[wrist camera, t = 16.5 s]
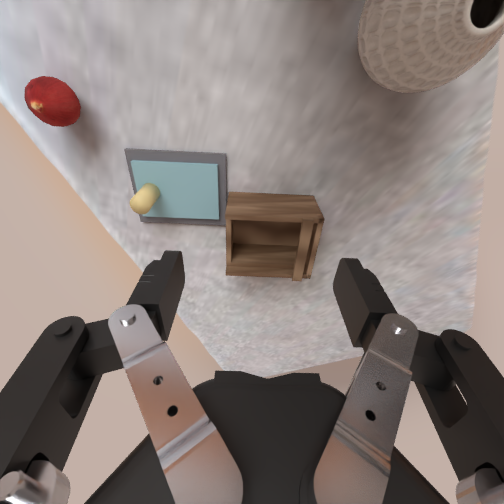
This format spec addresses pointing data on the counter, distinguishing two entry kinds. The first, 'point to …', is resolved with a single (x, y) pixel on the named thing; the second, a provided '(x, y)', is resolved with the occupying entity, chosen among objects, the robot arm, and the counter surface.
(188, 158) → the mat
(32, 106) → the red oval lump
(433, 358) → the robot arm
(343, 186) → the counter surface
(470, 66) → the vase
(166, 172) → the thin pale-blue panel
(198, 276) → the counter surface
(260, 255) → the box
